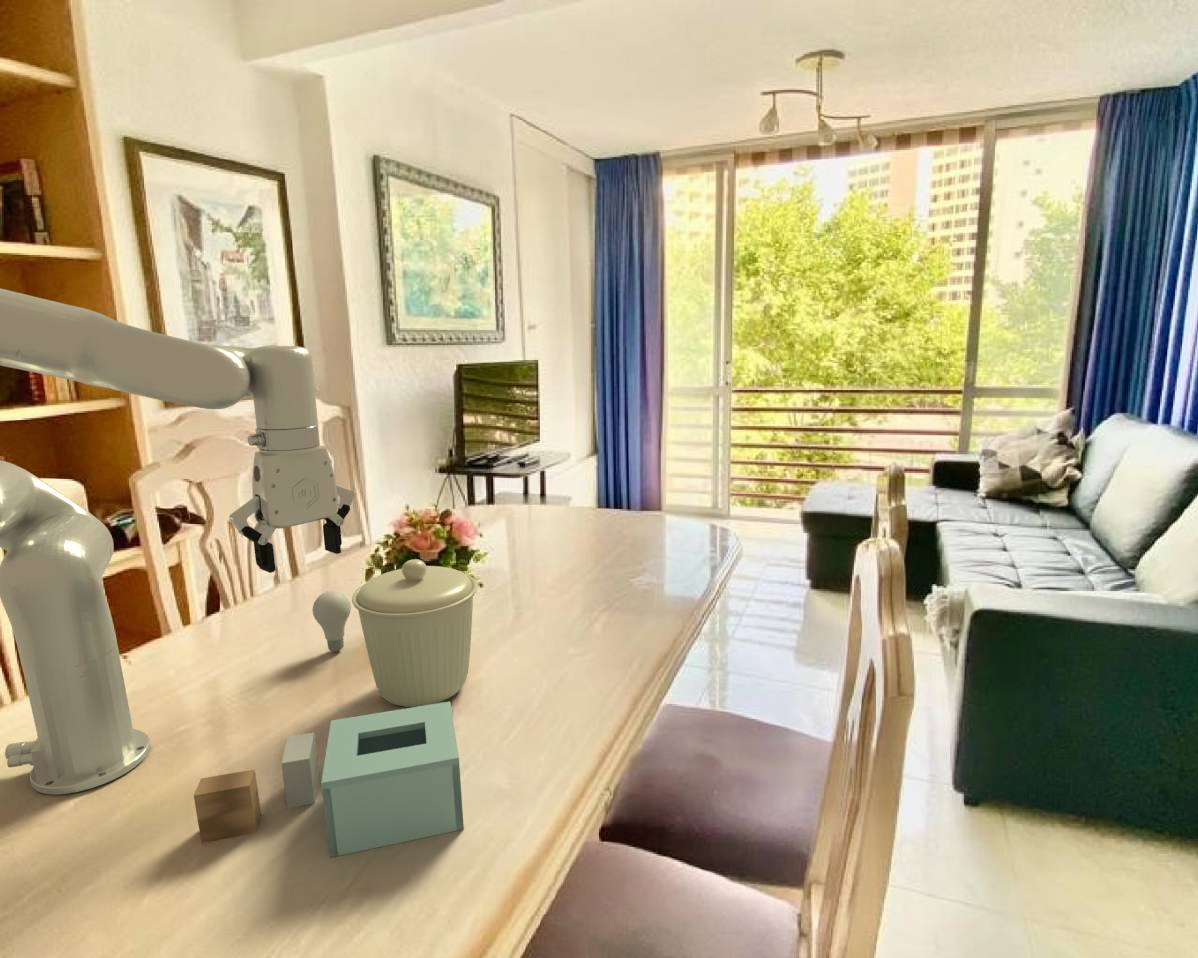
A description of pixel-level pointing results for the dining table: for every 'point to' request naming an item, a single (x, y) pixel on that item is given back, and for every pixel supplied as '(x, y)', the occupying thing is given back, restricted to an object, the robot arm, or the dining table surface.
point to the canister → (417, 631)
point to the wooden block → (227, 805)
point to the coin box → (391, 778)
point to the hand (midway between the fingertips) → (301, 560)
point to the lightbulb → (332, 617)
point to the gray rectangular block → (300, 770)
